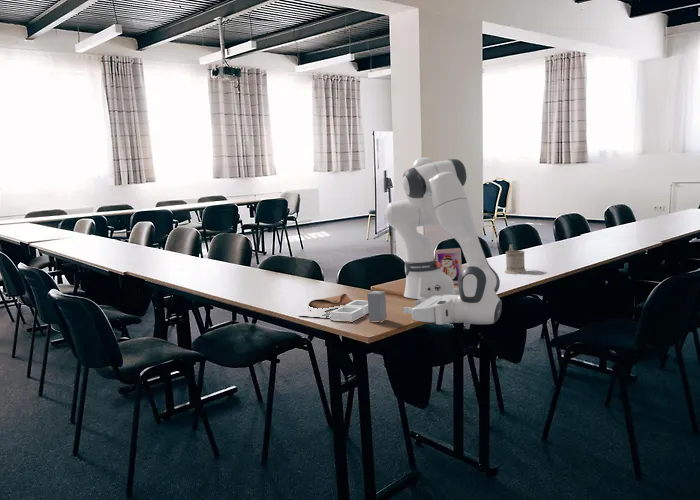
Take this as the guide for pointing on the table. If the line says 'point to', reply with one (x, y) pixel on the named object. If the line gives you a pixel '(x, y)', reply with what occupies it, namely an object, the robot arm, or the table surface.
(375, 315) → the block
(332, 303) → the sunglasses case
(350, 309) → the white compartment tray
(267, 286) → the table surface
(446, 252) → the greeting card
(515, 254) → the stone pedestal
